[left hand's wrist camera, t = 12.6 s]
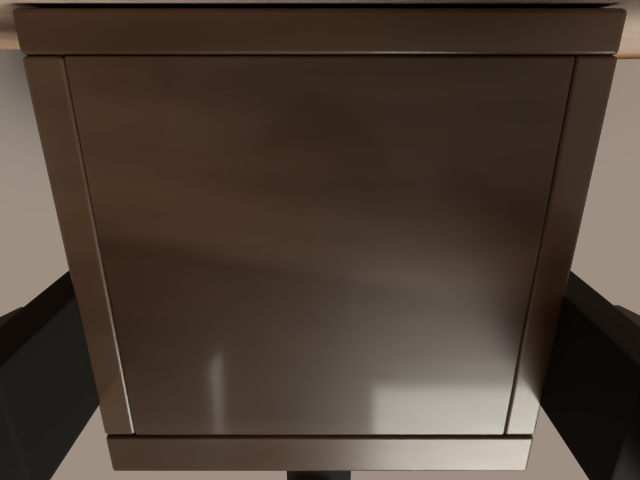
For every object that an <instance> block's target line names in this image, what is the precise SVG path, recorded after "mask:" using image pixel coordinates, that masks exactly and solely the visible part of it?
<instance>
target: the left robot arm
mask: <svg viewBox="0 0 640 480" xmlns="http://www.w3.org/2000/svg"><path fill="white" fill-rule="evenodd" d="M540 405H541V406H542V408H543V410H544V411H545V413H546V414H547V416H548V417H549V419H550V420H551V422H552V423H553V425H554V426H555V428H556V429H557V431H558V432H559V434H560V436H561V437H562V439H563V440H564V442H565V443H566V445H567V446H568V448H569V449H570V451H571V452H572V454H573V455H574V457H575V458H576V460H577V462H578V463H579V465H580V466H581V468H582V469H583V471H584V472H585V474H586V475H587V477H588V478H589V480H640V315H638V314H636V313H634V312H631V311H630V310H628V309H625V308H623V307H621V306H619V305H612V304H611V303H610V302H609V301H607V300H606V299H605V298H604V297H602V296H601V295H600V294H599V293H598V292H596V291H595V290H594V289H593V288H591V287H590V286H589V285H588V284H586V283H585V282H584V281H583V280H581V279H580V278H579V277H578V276H577V275H575V274H574V273H573V272H571V271H570V274H569V279H568V283H567V288H566V292H565V296H564V300H563V304H562V309H561V313H560V318H559V322H558V327H557V331H556V336H555V340H554V345H553V350H552V354H551V359H550V363H549V368H548V372H547V377H546V381H545V386H544V390H543V395H542V399H541V404H540ZM98 406H99V401H98V397H97V392H96V388H95V383H94V379H93V374H92V370H91V365H90V361H89V356H88V352H87V347H86V343H85V338H84V333H83V329H82V324H81V320H80V315H79V311H78V306H77V302H76V297H75V293H74V289H73V284H72V280H71V275H70V271H68V272H67V273H65V274H64V275H63V276H62V277H60V278H59V279H58V280H57V281H56V282H54V283H53V284H52V285H51V286H49V287H48V288H47V289H46V290H44V291H43V292H42V293H41V294H39V295H38V296H37V297H36V298H35V299H33V300H32V301H31V302H30V303H28V304H27V305H26V306H25V307H20V308H18V309H16V310H14V311H12V312H10V313H8V314H6V315H3V316H1V317H0V480H50V479H51V477H52V476H53V474H54V473H55V471H56V470H57V468H58V467H59V465H60V464H61V462H62V461H63V459H64V458H65V456H66V455H67V453H68V452H69V450H70V448H71V447H72V445H73V444H74V442H75V441H76V439H77V438H78V436H79V435H80V433H81V432H82V430H83V429H84V427H85V426H86V424H87V422H88V421H89V419H90V418H91V416H92V415H93V413H94V412H95V410H96V409H97V407H98Z"/></svg>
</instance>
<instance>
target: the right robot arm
mask: <svg viewBox="0 0 640 480" xmlns="http://www.w3.org/2000/svg"><path fill="white" fill-rule="evenodd" d="M287 480H351V471H287Z"/></svg>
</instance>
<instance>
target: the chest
mask: <svg viewBox="0 0 640 480" xmlns="http://www.w3.org/2000/svg"><path fill="white" fill-rule="evenodd" d="M626 14H627V13H626V10H624V9H622V8H17V9H15V10H13V17H14V22H15V26H16V31H17V35H18V40H19V44H20V49H21V51H22V53H23V54H25V55H28V56H26V57H24V58H23V63H24V67H25V72H26V76H27V81H28V85H29V90H30V94H31V99H32V103H33V108H34V112H35V117H36V121H37V126H38V131H39V135H40V140H41V144H42V149H43V153H44V158H45V162H46V166H47V171H48V176H49V180H50V184H51V189H52V194H53V198H54V203H55V207H56V212H57V216H58V221H59V226H60V230H61V234H62V239H63V244H64V248H65V253H66V257H67V262H68V266H69V271H70V275H71V280H72V284H73V289H74V293H75V297H76V302H77V306H78V311H79V315H80V320H81V324H82V329H83V333H84V338H85V343H86V347H87V352H88V356H89V361H90V365H91V370H92V374H93V379H94V383H95V388H96V392H97V397H98V401H99V406H100V411H101V415H102V420H103V425H104V429H105V432H106V433H107V434H134V433H136V434H137V435H503V434H504V433H505V434H534V432H535V428H536V423H537V418H538V414H539V409H540V404H541V399H542V395H543V390H544V386H545V381H546V377H547V372H548V368H549V363H550V359H551V354H552V350H553V345H554V340H555V336H556V331H557V327H558V322H559V318H560V313H561V309H562V304H563V300H564V296H565V292H566V288H567V283H568V279H569V274H570V269H571V265H572V260H573V256H574V251H575V247H576V242H577V238H578V233H579V229H580V224H581V220H582V215H583V211H584V206H585V202H586V197H587V192H588V188H589V183H590V179H591V175H592V170H593V166H594V161H595V157H596V152H597V148H598V143H599V139H600V134H601V129H602V125H603V120H604V116H605V111H606V107H607V102H608V98H609V93H610V89H611V84H612V79H613V75H614V71H615V66H616V62H617V58H616V57H615V56H612V55H614V54H616V53H617V52H618V50H619V46H620V42H621V37H622V32H623V28H624V23H625V19H626Z"/></svg>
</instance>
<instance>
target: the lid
mask: <svg viewBox="0 0 640 480" xmlns="http://www.w3.org/2000/svg"><path fill="white" fill-rule="evenodd" d="M532 441H533V437H532V435H531V434H505V433H504V434H503V435H137V434H136V433H134V434H108V435H107V443H108V448H109V452H110V457H111V461H112V466H113V469H114V470H115V471H524V470H526V468H527V463H528V459H529V454H530V450H531V445H532Z"/></svg>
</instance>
